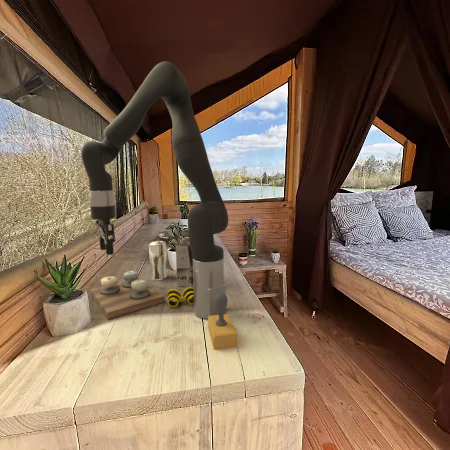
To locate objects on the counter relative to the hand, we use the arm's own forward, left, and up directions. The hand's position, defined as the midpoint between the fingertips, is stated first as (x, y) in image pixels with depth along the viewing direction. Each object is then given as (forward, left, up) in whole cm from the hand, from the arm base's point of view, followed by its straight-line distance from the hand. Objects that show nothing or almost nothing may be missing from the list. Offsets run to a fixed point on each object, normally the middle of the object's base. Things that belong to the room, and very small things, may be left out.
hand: (106, 251), depth 93 cm
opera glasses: (-21, -17, -16) cm, 31 cm away
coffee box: (-6, -28, -16) cm, 33 cm away
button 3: (+1, -8, -12) cm, 14 cm away
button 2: (-10, -7, -12) cm, 17 cm away
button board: (-5, -4, -16) cm, 17 cm away
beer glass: (+6, -21, -16) cm, 27 cm away
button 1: (0, 0, -12) cm, 12 cm away
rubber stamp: (-44, -16, -16) cm, 50 cm away
